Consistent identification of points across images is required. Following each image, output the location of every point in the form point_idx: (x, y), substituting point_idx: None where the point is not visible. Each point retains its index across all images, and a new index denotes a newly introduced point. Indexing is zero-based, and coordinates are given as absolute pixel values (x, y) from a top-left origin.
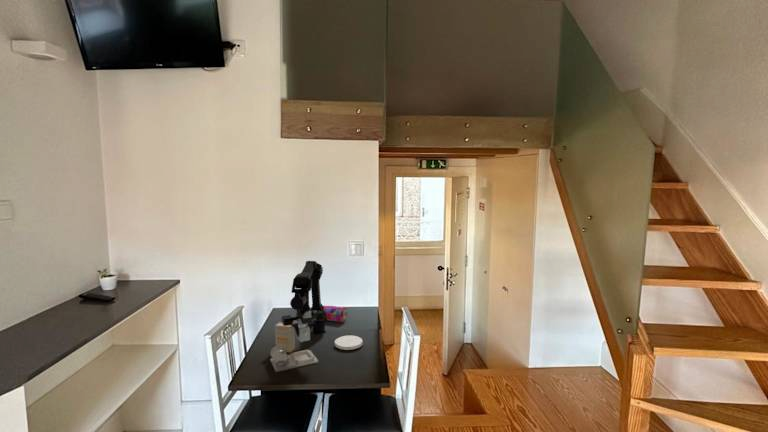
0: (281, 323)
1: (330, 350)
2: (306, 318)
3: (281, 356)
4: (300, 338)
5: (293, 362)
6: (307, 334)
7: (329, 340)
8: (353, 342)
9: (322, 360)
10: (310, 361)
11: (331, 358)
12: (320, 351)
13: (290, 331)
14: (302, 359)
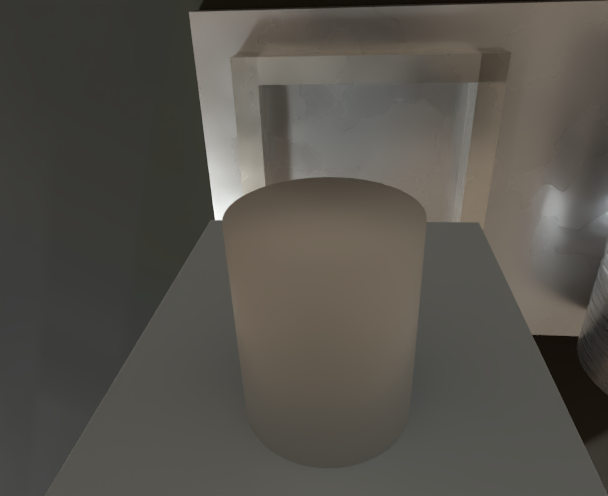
0: None
1: (18, 256)
2: None
3: None
4: (498, 274)
5: (518, 117)
6: (269, 194)
7: (20, 436)
8: None
9: (133, 49)
10: (297, 31)
11: (13, 51)
12: (127, 282)
13: None
14: (407, 76)
